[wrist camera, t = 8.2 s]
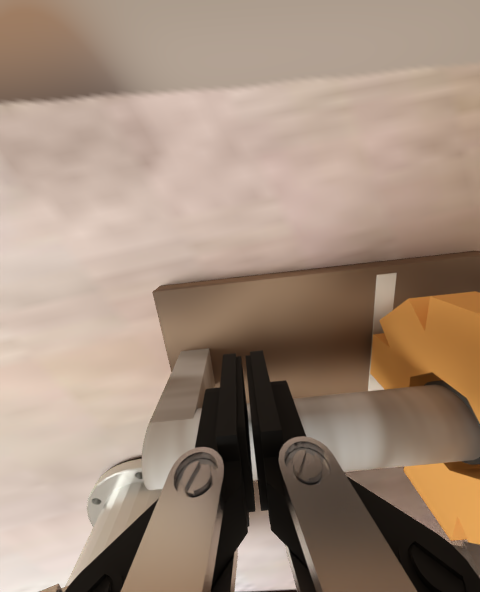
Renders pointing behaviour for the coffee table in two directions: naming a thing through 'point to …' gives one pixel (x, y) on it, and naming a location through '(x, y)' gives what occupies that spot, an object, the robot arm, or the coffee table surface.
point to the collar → (434, 367)
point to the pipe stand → (314, 361)
